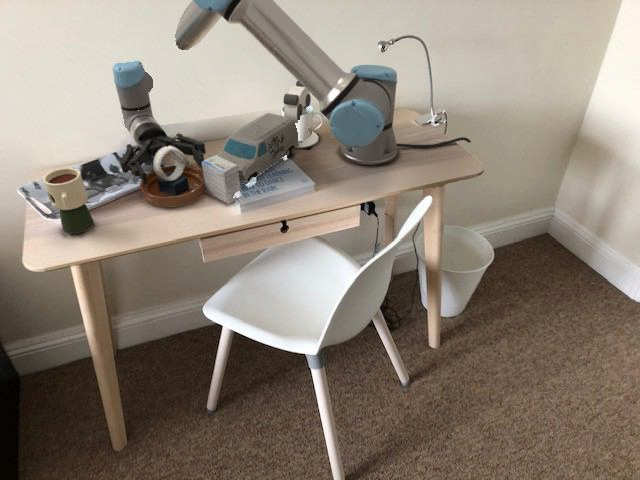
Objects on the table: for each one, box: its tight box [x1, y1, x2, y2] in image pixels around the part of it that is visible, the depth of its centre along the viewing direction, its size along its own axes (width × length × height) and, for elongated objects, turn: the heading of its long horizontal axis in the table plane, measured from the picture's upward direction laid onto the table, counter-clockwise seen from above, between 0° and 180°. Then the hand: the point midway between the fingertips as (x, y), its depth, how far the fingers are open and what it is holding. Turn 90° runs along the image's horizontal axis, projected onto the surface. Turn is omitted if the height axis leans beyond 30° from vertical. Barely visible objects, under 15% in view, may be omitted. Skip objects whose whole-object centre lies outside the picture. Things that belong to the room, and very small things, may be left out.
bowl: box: [139, 164, 207, 208], centre depth 124 cm, size 15×15×3 cm
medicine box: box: [202, 154, 242, 205], centre depth 121 cm, size 8×4×9 cm, turn 50°
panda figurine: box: [283, 80, 319, 149], centre depth 143 cm, size 12×11×15 cm
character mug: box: [42, 167, 95, 235], centre depth 109 cm, size 11×7×13 cm, turn 20°
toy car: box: [216, 112, 299, 185], centre depth 133 cm, size 11×25×10 cm, turn 150°
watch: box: [152, 146, 189, 196], centre depth 122 cm, size 6×8×11 cm
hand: (174, 171), depth 119 cm, fingers open, 13 cm apart
